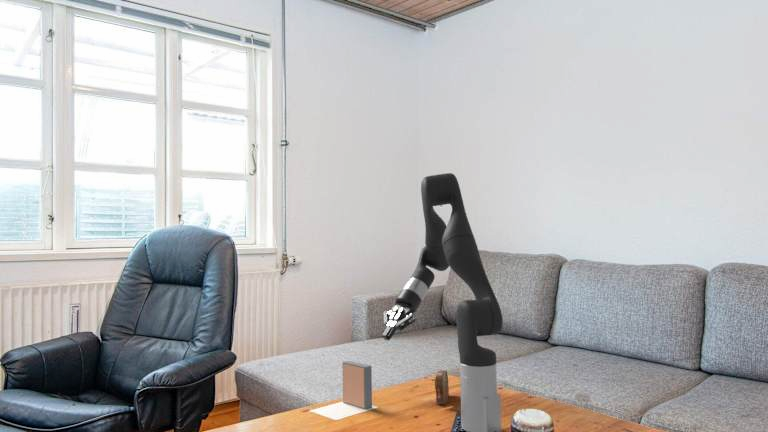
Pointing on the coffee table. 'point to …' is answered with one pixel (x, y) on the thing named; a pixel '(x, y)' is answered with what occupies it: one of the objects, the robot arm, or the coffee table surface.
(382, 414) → the coffee table surface
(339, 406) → the mat
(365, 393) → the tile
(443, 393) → the tin
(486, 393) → the robot arm
